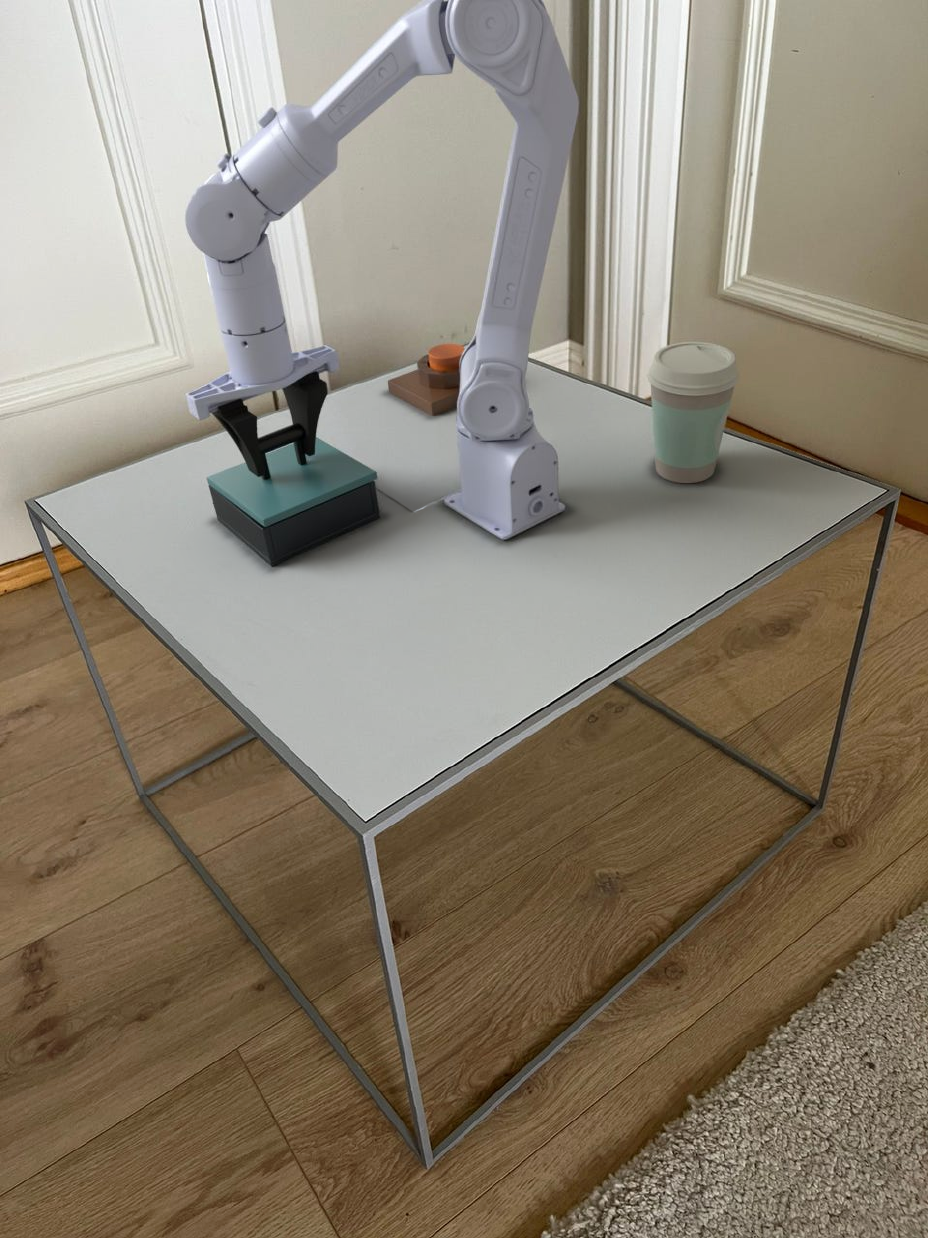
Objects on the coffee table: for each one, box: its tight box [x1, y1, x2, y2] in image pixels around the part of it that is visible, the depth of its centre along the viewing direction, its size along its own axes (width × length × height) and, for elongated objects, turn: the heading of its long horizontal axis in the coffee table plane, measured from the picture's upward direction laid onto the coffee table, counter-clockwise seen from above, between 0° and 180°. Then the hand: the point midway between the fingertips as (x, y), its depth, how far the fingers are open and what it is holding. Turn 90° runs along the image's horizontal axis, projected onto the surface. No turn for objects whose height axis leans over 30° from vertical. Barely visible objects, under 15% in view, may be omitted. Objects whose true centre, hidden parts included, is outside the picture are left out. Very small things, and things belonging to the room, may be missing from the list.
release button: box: [428, 343, 466, 371], centre depth 113 cm, size 4×4×2 cm
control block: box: [387, 353, 460, 417], centre depth 114 cm, size 12×9×4 cm
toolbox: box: [206, 423, 378, 527], centre depth 89 cm, size 12×12×5 cm
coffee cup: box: [646, 341, 740, 484], centre depth 93 cm, size 9×8×12 cm
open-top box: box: [208, 480, 381, 567], centre depth 93 cm, size 11×12×4 cm
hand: (282, 461), depth 91 cm, fingers closed on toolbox, 5 cm apart
